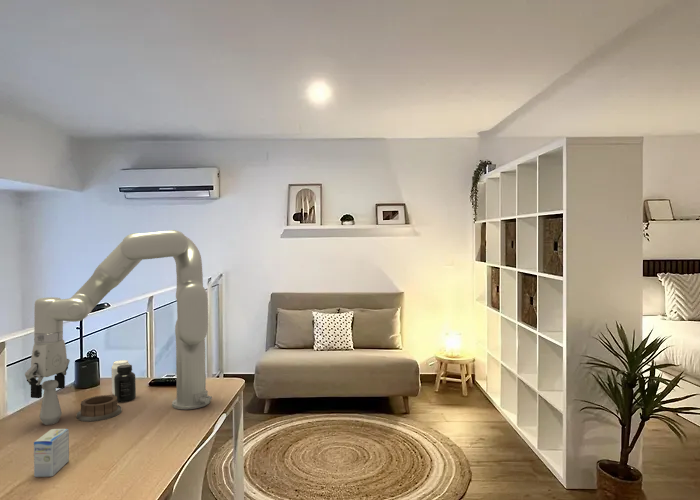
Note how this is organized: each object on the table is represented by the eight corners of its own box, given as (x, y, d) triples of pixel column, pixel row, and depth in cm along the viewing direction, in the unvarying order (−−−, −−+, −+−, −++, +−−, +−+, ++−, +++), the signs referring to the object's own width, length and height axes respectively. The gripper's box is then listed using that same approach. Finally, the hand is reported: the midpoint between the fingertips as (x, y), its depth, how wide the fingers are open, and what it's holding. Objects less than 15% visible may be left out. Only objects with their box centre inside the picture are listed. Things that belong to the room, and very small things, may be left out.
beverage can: (118, 391, 181) (118, 359, 180) (134, 391, 180) (133, 359, 180) (108, 396, 174) (107, 363, 174) (124, 397, 174) (123, 364, 173)
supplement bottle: (139, 396, 174) (139, 363, 174) (129, 403, 167) (128, 368, 167) (121, 396, 175) (121, 363, 174) (110, 402, 168) (109, 368, 168)
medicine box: (51, 462, 122) (50, 428, 122) (69, 461, 123) (69, 428, 123) (33, 477, 114) (32, 441, 114) (53, 476, 115) (52, 440, 115)
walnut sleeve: (129, 411, 159) (129, 397, 159) (91, 424, 148) (90, 409, 148) (107, 404, 166) (106, 391, 166) (68, 416, 155) (67, 402, 154)
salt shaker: (66, 420, 151) (65, 379, 151) (49, 426, 146) (48, 384, 146) (52, 418, 153) (51, 377, 153) (35, 424, 148) (34, 382, 148)
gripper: (38, 343, 140) (38, 402, 140) (78, 333, 157) (78, 385, 157) (15, 342, 141) (14, 401, 141) (57, 332, 158) (57, 384, 158)
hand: (48, 392), depth 149 cm, fingers open, 9 cm apart
